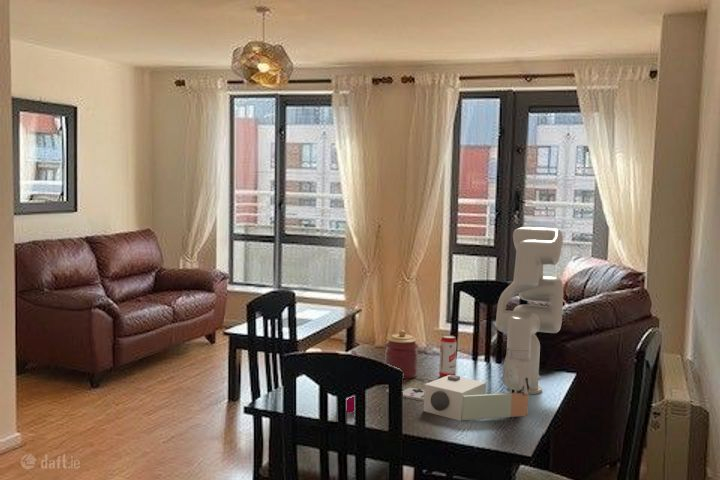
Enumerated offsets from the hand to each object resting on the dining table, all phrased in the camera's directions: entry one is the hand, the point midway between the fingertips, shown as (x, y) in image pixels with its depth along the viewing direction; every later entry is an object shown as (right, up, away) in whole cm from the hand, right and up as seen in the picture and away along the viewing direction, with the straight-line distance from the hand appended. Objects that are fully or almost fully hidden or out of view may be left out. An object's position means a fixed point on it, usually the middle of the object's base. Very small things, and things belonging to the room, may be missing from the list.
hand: (515, 408), depth 229 cm
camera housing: (-20, -1, +2) cm, 20 cm away
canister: (-35, +2, +44) cm, 57 cm away
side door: (-8, -1, -6) cm, 10 cm away
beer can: (-17, +2, +43) cm, 46 cm away
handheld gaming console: (-29, 0, +17) cm, 33 cm away
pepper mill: (-54, 0, -1) cm, 54 cm away
